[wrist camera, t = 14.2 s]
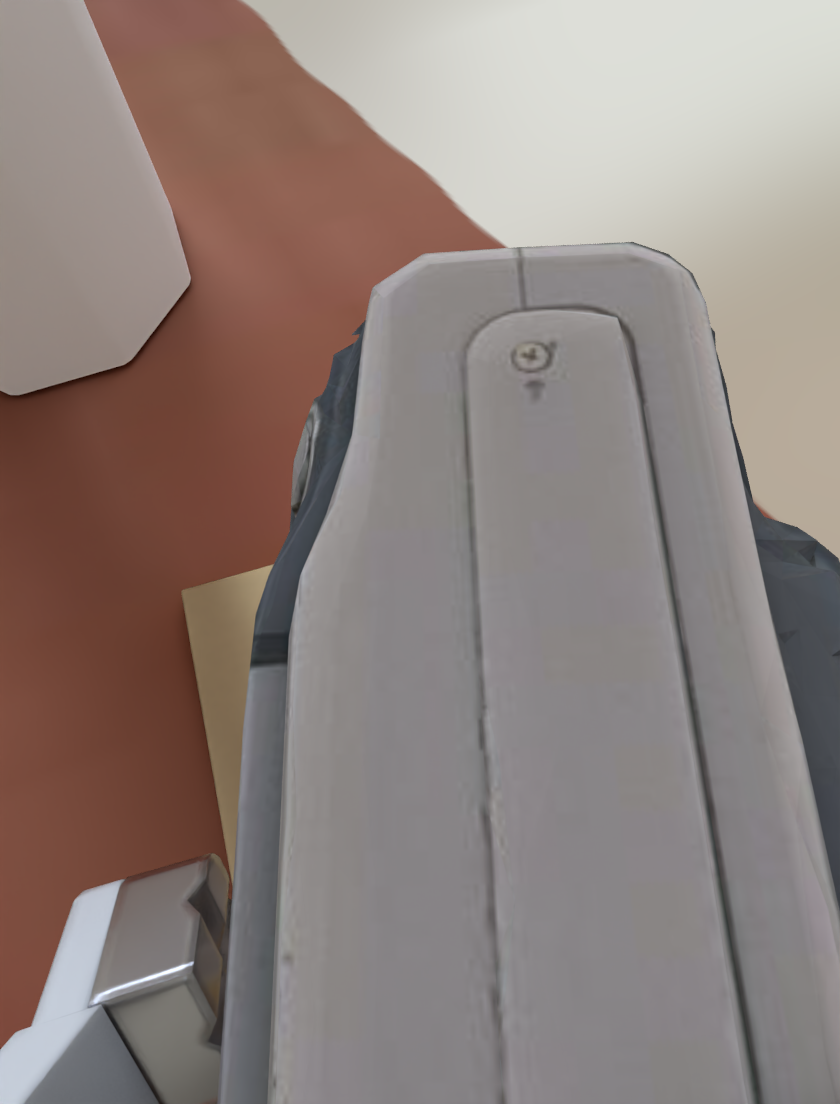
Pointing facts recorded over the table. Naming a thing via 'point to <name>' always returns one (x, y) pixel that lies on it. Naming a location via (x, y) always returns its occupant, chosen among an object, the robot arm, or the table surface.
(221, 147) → the table surface
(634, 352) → the camera
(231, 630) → the board
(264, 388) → the table surface
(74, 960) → the robot arm
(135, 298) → the cup
